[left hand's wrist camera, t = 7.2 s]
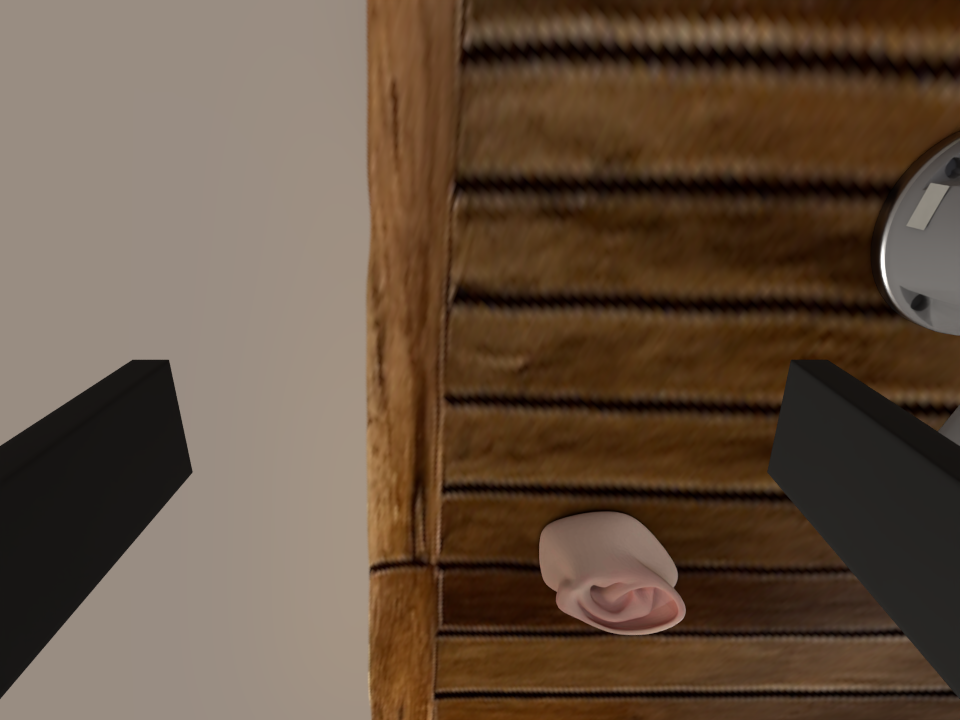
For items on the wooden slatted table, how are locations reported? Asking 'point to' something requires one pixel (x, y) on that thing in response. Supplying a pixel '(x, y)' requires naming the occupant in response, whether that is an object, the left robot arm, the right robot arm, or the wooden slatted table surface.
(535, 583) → the wooden slatted table surface
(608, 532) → the anatomical model
